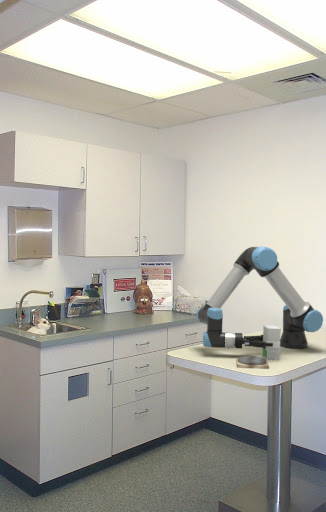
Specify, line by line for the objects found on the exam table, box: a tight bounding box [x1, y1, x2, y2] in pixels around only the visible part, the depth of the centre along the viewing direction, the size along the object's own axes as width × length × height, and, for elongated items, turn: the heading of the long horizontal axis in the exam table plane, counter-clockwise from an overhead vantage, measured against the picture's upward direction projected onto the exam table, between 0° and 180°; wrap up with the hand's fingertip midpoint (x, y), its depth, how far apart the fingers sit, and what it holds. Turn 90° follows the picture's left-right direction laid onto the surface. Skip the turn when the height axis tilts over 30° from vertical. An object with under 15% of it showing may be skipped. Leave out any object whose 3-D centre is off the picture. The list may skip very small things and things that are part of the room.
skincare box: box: [261, 324, 282, 361], centre depth 237 cm, size 8×7×16 cm
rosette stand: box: [235, 355, 270, 370], centre depth 223 cm, size 14×14×2 cm
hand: (278, 342), depth 236 cm, fingers open, 13 cm apart
